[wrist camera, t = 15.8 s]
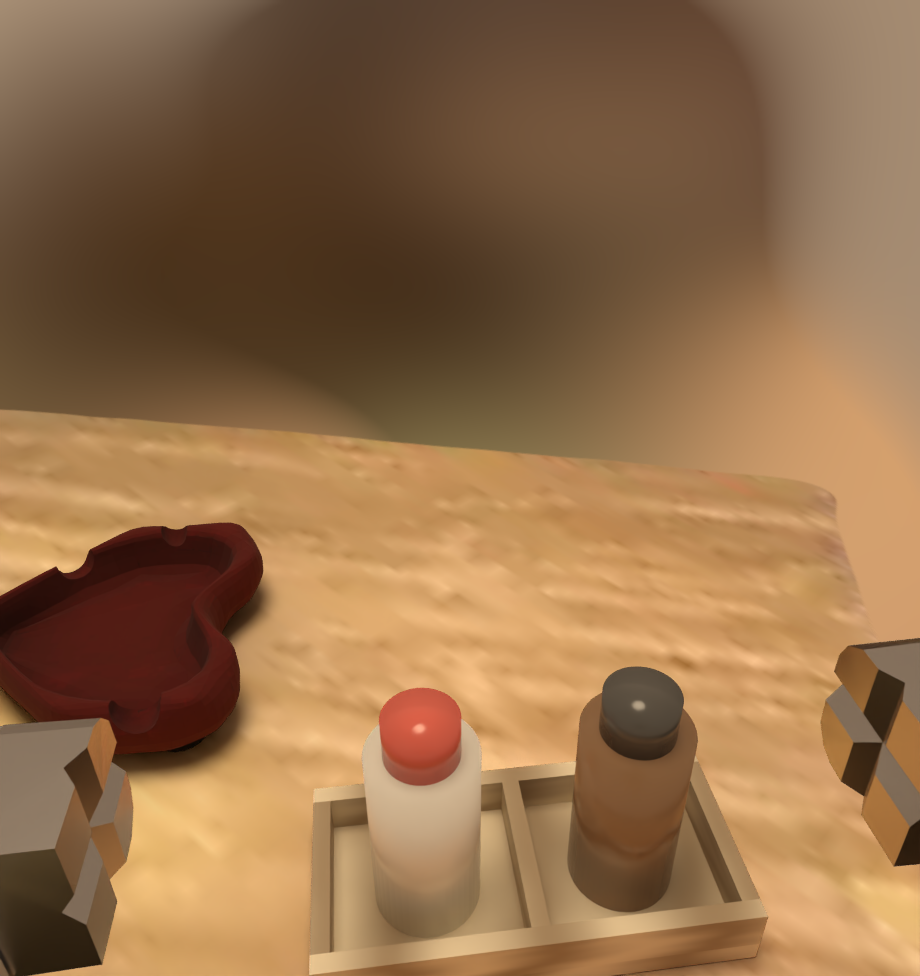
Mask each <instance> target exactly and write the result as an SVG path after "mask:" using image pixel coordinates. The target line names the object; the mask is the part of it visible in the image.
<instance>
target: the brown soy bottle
mask: <svg viewBox="0 0 920 976" xmlns="http://www.w3.org/2000/svg"><path fill="white" fill-rule="evenodd" d="M683 704H684V697H683V693H682V691H681V689H680V687H679V686H678V685H677V683H676V682H675V681H674V680H673V679H671V678H670V677H669V676H667V675H666V674H664V673H662V672H660V671H657V670H654V669H651V668H647V667H627V668H623V669H620V670H617V671H615V672H614V673H612V674H611V675H610V676H609V677H608V678H607V679H606V681H605V683H604V685H603V691H602V693H601V694H599V695H597V696H596V697H594V698H593V699H592V700H591V701H590V702H589V703H587V705H586V706H585V708H584V709H583V711H582V713H581V717H580V723H579V734H578V745H577V756H576V767H575V777H574V788H573V799H572V810H571V821H570V832H569V843H568V854H567V865H568V870H569V873H570V876H571V878H572V880H573V882H574V884H575V885H576V887H577V888H578V889H579V890H580V892H581V893H582V894H583V895H584V896H586V897H587V898H588V899H589V900H591V901H592V902H594V903H595V904H597V905H599V906H601V907H603V908H606V909H609V910H612V911H618V912H636V911H641V910H644V909H647V908H649V907H651V906H653V905H654V904H655V903H657V902H658V901H659V900H660V899H661V898H662V897H663V895H664V894H665V893H666V891H667V889H668V887H669V883H670V879H671V874H672V869H673V864H674V859H675V854H676V849H677V844H678V839H679V834H680V829H681V824H682V819H683V814H684V809H685V804H686V799H687V794H688V789H689V784H690V779H691V774H692V769H693V764H694V759H695V754H696V749H697V742H698V737H697V731H696V728H695V725H694V723H693V721H692V719H691V718H690V716H689V715H688V714H687V712H686V711H685V710H684V709H683Z"/></svg>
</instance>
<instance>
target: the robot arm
mask: <svg viewBox="0 0 920 976" xmlns="http://www.w3.org/2000/svg"><path fill="white" fill-rule="evenodd" d="M834 672H835V673H836V675H837V676H838V678H839V679H840V681H841V682H842V685H841V686H840V687H839V688H838V689H837V690H836V691H835V692H834V693H833V694H832V695H830V696H829V697H828V698H827V699H826V701H825V705H824V709H823V713H822V717H821V730H822V739H823V746H824V748H825V751H826V754H827V756H828V759H829V762H830V764H831V766H832V767H833V769H834V771H835V772H836V774H837V776H838V777H839V779H840V781H841V782H843V783H844V784H846V785H847V786H849V787H850V788H852V789H853V790H855V791H857V792H858V793H860V794H861V795H863V796H864V799H863V806H862V813H861V815H862V817H863V818H864V820H865V821H866V823H867V825H868V826H869V828H870V829H871V831H872V833H873V834H874V836H875V837H876V839H877V841H878V842H879V844H880V845H881V847H882V849H883V850H884V852H885V853H886V855H887V857H888V858H889V860H890V861H891V863H892V865H893V866H894V867H895V866H905V865H916V864H920V638H916V639H906V640H897V641H887V642H878V643H869V644H859V645H850V646H847V647H846V649H845V650H844V651H843V652H842V653H841V654H840V655H839V658H838V661H837V664H836V667H835V671H834ZM116 743H117V742H116V739H115V736H114V734H113V731H112V728H111V725H110V723H109V720H106V719H102V718H94V719H80V720H66V721H52V722H38V723H24V724H10V725H3V726H0V976H29V975H36V974H42V973H49V972H56V971H62V970H69V969H75V968H82V967H89V966H95V965H102V963H103V959H104V955H105V951H106V946H107V942H108V938H109V934H110V929H111V925H112V921H113V917H114V913H115V908H116V904H117V899H116V897H115V894H114V891H113V888H112V885H111V882H110V878H111V877H112V876H113V875H114V874H115V873H116V872H117V871H118V870H119V869H120V868H121V867H122V866H123V865H124V864H125V863H126V861H127V856H128V851H129V847H130V842H131V837H132V821H133V802H132V794H131V787H130V784H129V780H128V777H127V773H126V771H125V770H123V769H122V768H120V767H119V766H117V765H116V764H114V763H113V762H112V758H113V754H114V751H115V747H116Z"/></svg>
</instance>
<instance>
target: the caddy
mask: <svg viewBox="0 0 920 976" xmlns="http://www.w3.org/2000/svg"><path fill="white" fill-rule="evenodd" d="M575 767H576V761H573V762H564V763H554V764H545V765H535V766H526V767H516V768H507V769H498V770H488V771H481V853H480V895H479V899H478V903H477V905H476V907H475V909H474V911H473V913H472V914H471V916H470V917H469V918H468V919H467V921H466V922H465V923H464V924H462V925H461V926H460V927H459V928H457V929H455V930H454V931H452V932H450V933H448V934H445V935H442V936H438V937H432V938H420V937H414V936H410V935H407V934H404V933H402V932H400V931H398V930H397V929H395V928H394V927H392V926H391V925H390V924H389V923H388V922H387V921H386V919H385V918H384V917H383V915H382V914H381V912H380V910H379V908H378V905H377V901H376V896H375V886H374V876H373V866H372V856H371V846H370V836H369V826H368V816H367V806H366V796H365V786H364V784H356V785H346V786H337V787H328V788H318V789H314V802H313V842H312V881H311V921H310V961H309V976H615V975H622V974H630V973H637V972H645V971H653V970H660V969H668V968H675V967H683V966H690V965H698V964H706V963H713V962H721V961H728V960H736V959H743V958H751V957H756V955H757V951H758V948H759V945H760V942H761V938H762V935H763V932H764V929H765V926H766V922H767V919H768V915H767V913H766V910H765V908H764V906H763V904H762V902H761V899H760V897H759V895H758V893H757V890H756V888H755V886H754V884H753V882H752V879H751V877H750V875H749V873H748V871H747V868H746V866H745V864H744V862H743V859H742V857H741V855H740V853H739V851H738V848H737V846H736V844H735V842H734V840H733V837H732V835H731V833H730V831H729V828H728V826H727V824H726V822H725V820H724V817H723V815H722V813H721V811H720V809H719V806H718V804H717V802H716V800H715V798H714V795H713V793H712V791H711V789H710V786H709V784H708V782H707V780H706V778H705V775H704V773H703V771H702V769H701V767H700V764H699V762H698V760H697V758H696V755H695V759H694V764H693V769H692V774H691V779H690V784H689V789H688V794H687V799H686V804H685V809H684V814H683V819H682V824H681V829H680V834H679V839H678V844H677V849H676V854H675V859H674V864H673V869H672V874H671V879H670V883H669V887H668V889H667V891H666V893H665V894H664V895H663V897H662V898H661V899H660V900H659V901H658V902H657V903H655V904H654V905H653V906H651V907H649V908H647V909H644V910H641V911H636V912H618V911H612V910H609V909H606V908H603V907H601V906H599V905H597V904H595V903H594V902H592V901H591V900H589V899H588V898H587V897H586V896H584V895H583V894H582V893H581V892H580V890H579V889H578V888H577V887H576V885H575V884H574V882H573V880H572V878H571V876H570V873H569V870H568V865H567V854H568V843H569V832H570V821H571V810H572V799H573V788H574V777H575Z"/></svg>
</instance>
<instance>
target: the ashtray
mask: <svg viewBox="0 0 920 976" xmlns="http://www.w3.org/2000/svg"><path fill="white" fill-rule="evenodd" d="M262 574H263V561H262V556H261V554H260V551H259V549H258V547H257V545H256V544H255V542H254V540H253V539H252V538H251V536H250V535H249V534H248V532H247V531H246V530H245V529H244V528H243V527H242V526H240V525H238V524H234V523H211V524H200V525H189V526H186V527H185V528H183V529H178V530H174V529H169V528H167V527H164V526H150V527H140V528H136V529H132V530H129V531H127V532H125V533H122V534H120V535H118V536H116V537H114V538H112V539H110V540H108V541H106V542H104V543H102V544H100V545H98V546H96V547H94V548H92V549H90V550H89V553H88V555H87V558H86V561H85V563H84V564H83V565H82V566H81V567H80V568H79V569H77V570H76V571H73V572H70V573H62V572H61V571H59V570H58V568H57V567H54V568H52V569H50V570H48V571H46V572H44V573H42V574H40V575H38V576H36V577H35V578H33V579H31V580H29V581H27V582H25V583H23V584H21V585H20V586H18V587H16V588H14V589H12V590H10V591H9V592H7V593H5V594H3V595H1V596H0V686H1V687H2V688H3V689H4V690H5V691H6V692H7V693H8V694H9V695H10V696H11V697H12V698H13V699H14V700H15V701H16V702H17V703H19V704H20V705H21V706H22V707H23V708H24V709H25V710H26V711H27V712H28V713H29V714H30V715H31V716H32V717H33V718H34V719H35V720H37V721H38V722H52V721H66V720H80V719H94V718H102V719H106V720H109V723H110V725H111V728H112V731H113V734H114V736H115V739H116V742H117V743H116V747H115V751H114V754H131V753H139V752H158V751H168V752H180V751H185V750H188V749H190V748H192V747H194V746H196V745H197V744H199V743H200V742H201V741H202V740H203V739H204V738H205V736H207V735H209V734H211V733H213V732H214V731H216V730H217V729H218V728H219V727H220V726H221V725H222V724H223V723H224V721H225V720H226V719H227V717H228V716H229V715H230V714H231V712H232V711H233V709H234V707H235V705H236V702H237V699H238V696H239V691H240V669H239V664H238V660H237V656H236V652H235V649H234V647H233V645H232V644H231V642H230V641H229V640H228V639H227V638H226V637H225V636H224V635H223V634H222V631H223V629H224V628H225V626H226V624H227V622H228V620H229V619H230V618H231V617H232V616H233V615H234V613H235V612H237V611H238V610H239V609H240V608H242V607H243V606H244V605H245V604H246V603H248V602H249V601H250V599H251V598H252V597H253V595H254V593H255V591H256V589H257V587H258V585H259V583H260V580H261V578H262Z"/></svg>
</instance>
